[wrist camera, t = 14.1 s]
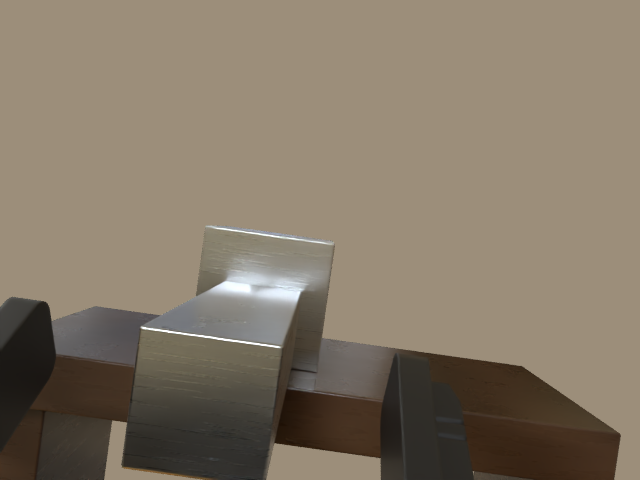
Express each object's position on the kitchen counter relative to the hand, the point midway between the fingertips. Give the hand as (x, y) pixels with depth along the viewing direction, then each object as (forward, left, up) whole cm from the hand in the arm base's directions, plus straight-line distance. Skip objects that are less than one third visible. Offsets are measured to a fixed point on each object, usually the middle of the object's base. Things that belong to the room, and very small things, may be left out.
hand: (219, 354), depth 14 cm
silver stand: (0, -6, -2) cm, 7 cm away
